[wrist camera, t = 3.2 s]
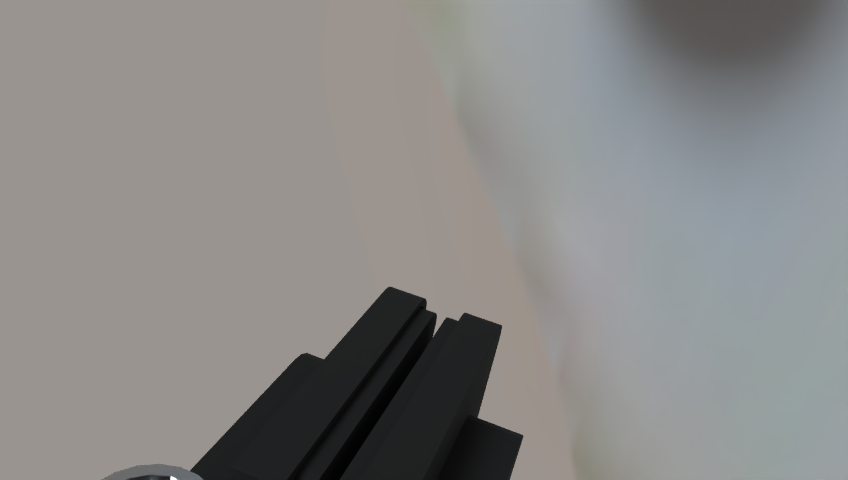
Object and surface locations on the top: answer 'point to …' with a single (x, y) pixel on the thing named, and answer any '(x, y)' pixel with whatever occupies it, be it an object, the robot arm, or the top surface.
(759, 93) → the top surface
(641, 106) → the top surface
